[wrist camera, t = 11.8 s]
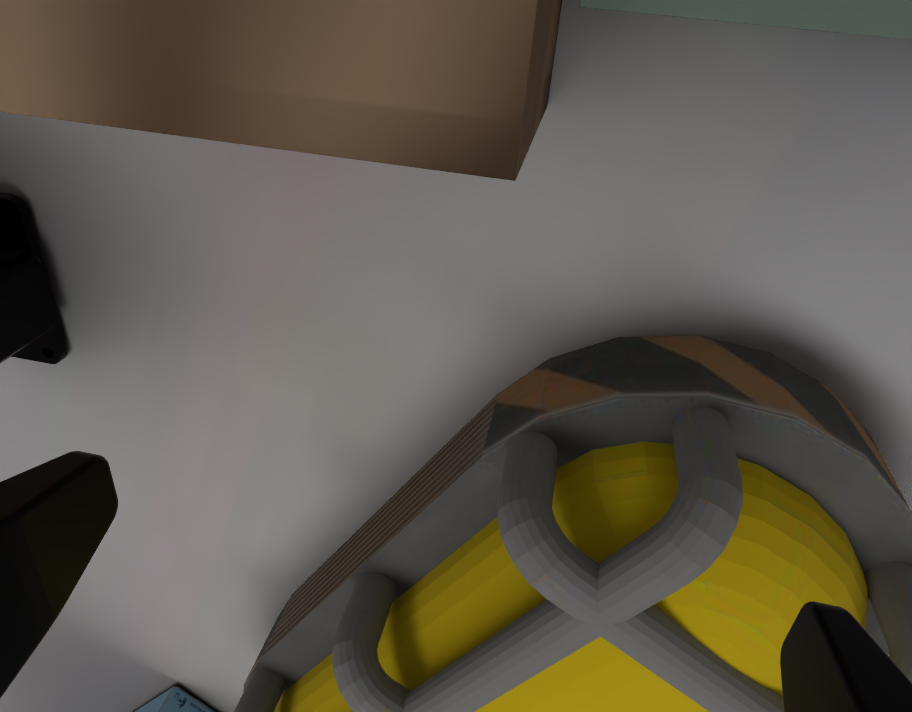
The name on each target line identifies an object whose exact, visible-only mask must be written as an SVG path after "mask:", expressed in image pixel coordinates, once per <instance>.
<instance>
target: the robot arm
mask: <svg viewBox="0 0 912 712" xmlns="http://www.w3.org/2000/svg"><path fill="white" fill-rule="evenodd" d="M10 208H11V209H13V211H14V213H15V214H14V213H13V212H12V211H11V209H10ZM67 354H68V353H67V347H66V343H65V339H64V336H63V332H62V328H61V324H60V321H59V317H58V313H57V310H56V306H55V302H54V298H53V295H52V291H51V287H50V284H49V280H48V276H47V272H46V269H45V265H44V261H43V258H42V254H41V250H40V246H39V243H38V239H37V235H36V232H35V228H34V224H33V220H32V217H31V213H30V210H29V208H28V205H27V204H26V203H25V201H24V200H23V199H21V198H20V197H19V196H16V195H13V194H8V193H1V192H0V363H2V362H3V361H5V360H6V359H8V358H9V357H11V356H12V357H17V358H22V359H28V360H33V361H39V362H44V363H49V364H56V363H58V362H60V361H61V360H62V359H64V358H65V357H66V356H67ZM117 508H118V498H117V494H116V490H115V486H114V482H113V478H112V475H111V471H110V467H109V464H108V461H107V460H106V459H105V458H104V457H102V456H100V455H96V454H91V453H86V452H81V451H73V452H70V453H67V454H64V455H62V456H60V457H57V458H55V459H53V460H51V461H48V462H46V463H44V464H41V465H39V466H37V467H34V468H32V469H30V470H27V471H25V472H23V473H20V474H18V475H16V476H13V477H11V478H9V479H6V480H4V481H2V482H0V698H1V697H2V695H3V694H4V692H5V691H6V690H7V688H8V687H9V685H10V684H11V683H12V681H13V680H14V678H15V677H16V675H17V674H18V673H19V671H20V670H21V668H22V667H23V666H24V664H25V663H26V661H27V660H28V659H29V657H30V656H31V654H32V653H33V651H34V650H35V649H36V647H37V646H38V644H39V643H40V642H41V640H42V639H43V637H44V636H45V634H46V633H47V631H48V630H49V628H50V627H51V626H52V624H53V623H54V621H55V620H56V618H57V616H58V615H59V613H60V611H61V610H62V608H63V607H64V605H65V603H66V602H67V600H68V598H69V596H70V595H71V593H72V591H73V589H74V588H75V586H76V584H77V583H78V581H79V579H80V577H81V576H82V574H83V572H84V570H85V569H86V567H87V565H88V563H89V562H90V560H91V558H92V556H93V555H94V553H95V551H96V549H97V548H98V546H99V544H100V542H101V541H102V539H103V537H104V535H105V534H106V532H107V530H108V528H109V527H110V525H111V523H112V521H113V520H114V517H115V515H116V512H117ZM780 668H781V681H782V693H783V705H784V712H912V682H911V681H910V680H909V679H908V678H907V677H906V675H905V674H904V673H903V672H902V671H901V670H900V669H899V668H898V666H897V665H896V664H895V663H894V662H893V661H892V660H891V658H890V657H889V656H888V655H887V654H886V653H885V652H884V651H883V649H882V648H881V647H880V646H879V645H878V644H877V643H876V641H875V640H874V639H873V638H872V637H871V636H870V635H869V634H868V632H867V631H866V630H865V629H864V628H863V627H862V626H861V624H860V623H859V622H858V621H857V620H856V619H855V618H854V617H853V615H852V614H851V613H850V612H848V611H847V610H846V609H844V608H842V607H838V606H834V605H829V604H824V603H819V602H814V601H810V602H807V603H806V604H804V605H803V607H802V608H801V610H800V611H799V613H798V615H797V617H796V619H795V621H794V623H793V625H792V627H791V628H790V630H789V632H788V634H787V636H786V638H785V640H784V642H783V644H782V648H781V654H780Z"/></svg>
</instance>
